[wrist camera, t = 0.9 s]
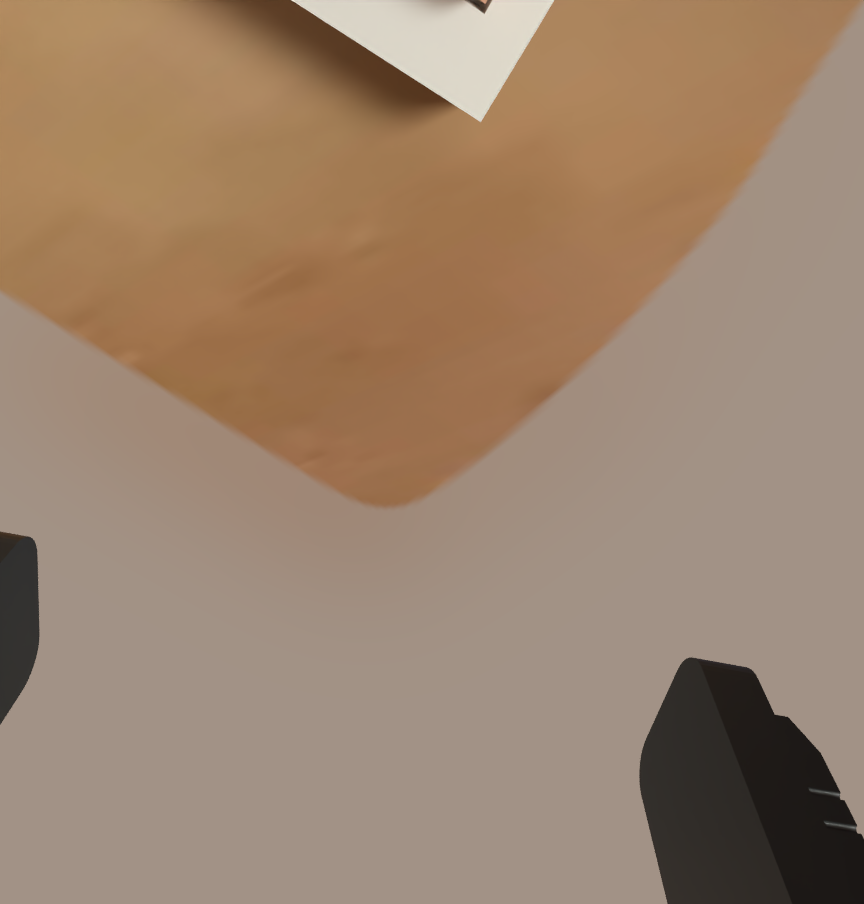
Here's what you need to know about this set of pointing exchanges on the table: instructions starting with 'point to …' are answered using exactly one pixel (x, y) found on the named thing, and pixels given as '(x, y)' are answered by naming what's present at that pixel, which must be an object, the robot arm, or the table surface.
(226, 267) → the table surface
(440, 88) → the button panel
